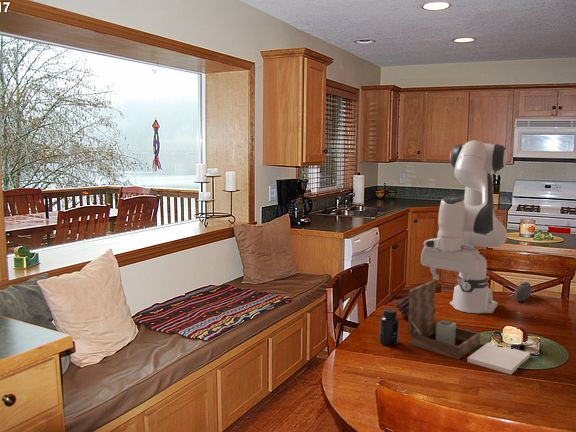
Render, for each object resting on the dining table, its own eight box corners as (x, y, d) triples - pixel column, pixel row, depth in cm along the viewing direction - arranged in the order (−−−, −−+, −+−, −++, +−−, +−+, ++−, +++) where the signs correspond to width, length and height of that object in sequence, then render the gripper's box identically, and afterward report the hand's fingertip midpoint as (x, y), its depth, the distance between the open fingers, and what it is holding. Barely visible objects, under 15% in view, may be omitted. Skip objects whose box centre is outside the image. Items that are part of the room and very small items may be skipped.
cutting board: (488, 346, 184) (488, 342, 184) (529, 357, 175) (530, 352, 174) (467, 361, 171) (467, 357, 170) (510, 374, 161) (511, 370, 161)
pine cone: (438, 320, 211) (439, 296, 209) (428, 326, 203) (429, 302, 202) (398, 311, 222) (399, 288, 220) (387, 317, 214) (388, 293, 212)
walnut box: (430, 330, 199) (433, 280, 196) (479, 343, 186) (483, 290, 183) (407, 344, 185) (409, 290, 183) (458, 359, 173) (461, 301, 170)
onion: (513, 342, 188) (515, 320, 187) (529, 346, 184) (531, 325, 183) (506, 346, 184) (508, 324, 183) (523, 351, 180) (525, 329, 179)
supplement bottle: (398, 346, 183) (399, 314, 181) (378, 345, 184) (379, 312, 183) (398, 339, 190) (399, 308, 188) (379, 338, 191) (380, 306, 189)
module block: (441, 340, 189) (442, 318, 188) (454, 344, 185) (456, 321, 184) (435, 344, 185) (436, 322, 184) (448, 348, 182) (449, 325, 181)
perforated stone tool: (522, 304, 232) (523, 289, 231) (510, 302, 235) (511, 287, 234) (532, 297, 243) (533, 282, 242) (520, 294, 246) (521, 280, 246)
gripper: (483, 246, 176) (481, 286, 177) (427, 238, 189) (426, 275, 191) (475, 249, 171) (473, 289, 173) (419, 241, 184) (417, 278, 186)
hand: (448, 282), depth 182 cm, fingers open, 8 cm apart
